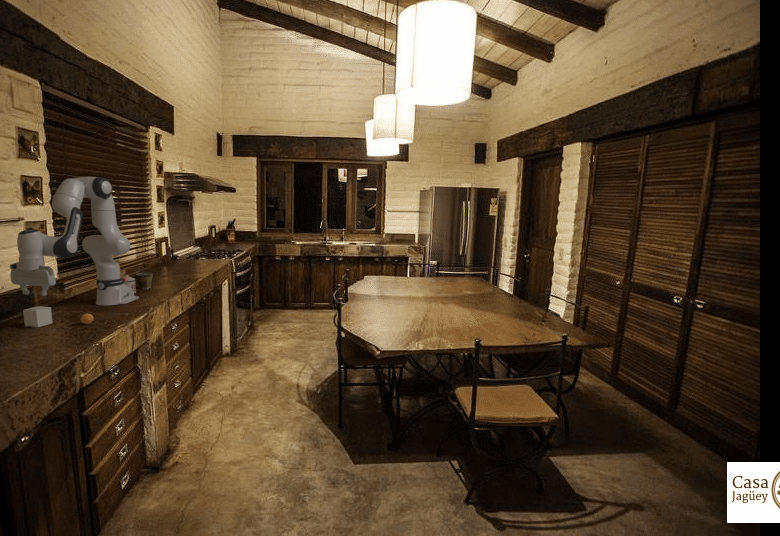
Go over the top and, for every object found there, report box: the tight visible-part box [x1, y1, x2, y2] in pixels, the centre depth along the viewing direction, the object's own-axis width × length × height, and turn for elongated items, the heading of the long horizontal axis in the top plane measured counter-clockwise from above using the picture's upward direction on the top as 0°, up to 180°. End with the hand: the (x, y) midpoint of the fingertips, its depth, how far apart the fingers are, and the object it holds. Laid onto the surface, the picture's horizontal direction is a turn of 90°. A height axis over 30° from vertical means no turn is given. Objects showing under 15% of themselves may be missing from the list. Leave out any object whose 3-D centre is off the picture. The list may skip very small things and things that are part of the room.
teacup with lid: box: [123, 274, 137, 294], centre depth 261 cm, size 12×9×12 cm
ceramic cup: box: [135, 272, 154, 290], centre depth 276 cm, size 13×10×10 cm
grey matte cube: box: [22, 305, 53, 328], centre depth 192 cm, size 7×7×8 cm
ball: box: [80, 313, 94, 325], centre depth 195 cm, size 5×5×5 cm
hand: (34, 294), depth 190 cm, fingers open, 8 cm apart
